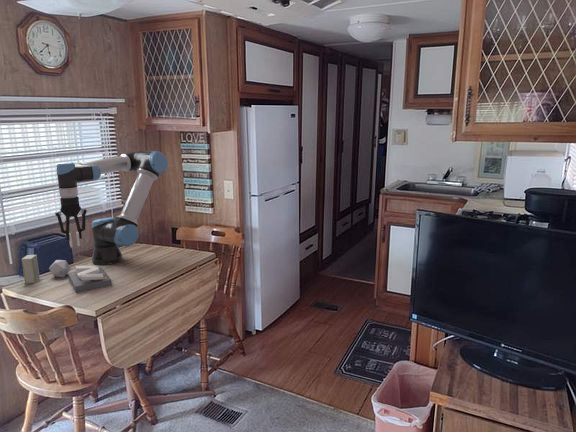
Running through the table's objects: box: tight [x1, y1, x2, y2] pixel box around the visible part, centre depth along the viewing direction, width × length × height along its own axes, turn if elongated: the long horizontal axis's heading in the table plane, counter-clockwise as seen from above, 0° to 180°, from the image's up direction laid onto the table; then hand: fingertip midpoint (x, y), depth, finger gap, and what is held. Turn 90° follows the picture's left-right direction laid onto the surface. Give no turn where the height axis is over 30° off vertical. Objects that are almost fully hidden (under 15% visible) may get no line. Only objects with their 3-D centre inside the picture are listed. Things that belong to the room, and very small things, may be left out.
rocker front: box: [80, 274, 104, 280], centre depth 196 cm, size 4×9×1 cm, turn 124°
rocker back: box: [74, 264, 97, 272], centre depth 208 cm, size 4×9×1 cm, turn 124°
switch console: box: [67, 267, 113, 294], centre depth 202 cm, size 21×15×4 cm
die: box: [48, 259, 72, 278], centre depth 211 cm, size 8×9×10 cm
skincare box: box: [21, 254, 40, 284], centre depth 204 cm, size 6×4×12 cm
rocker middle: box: [77, 266, 100, 279], centre depth 202 cm, size 4×9×1 cm, turn 124°
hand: (75, 246), depth 203 cm, fingers open, 3 cm apart
